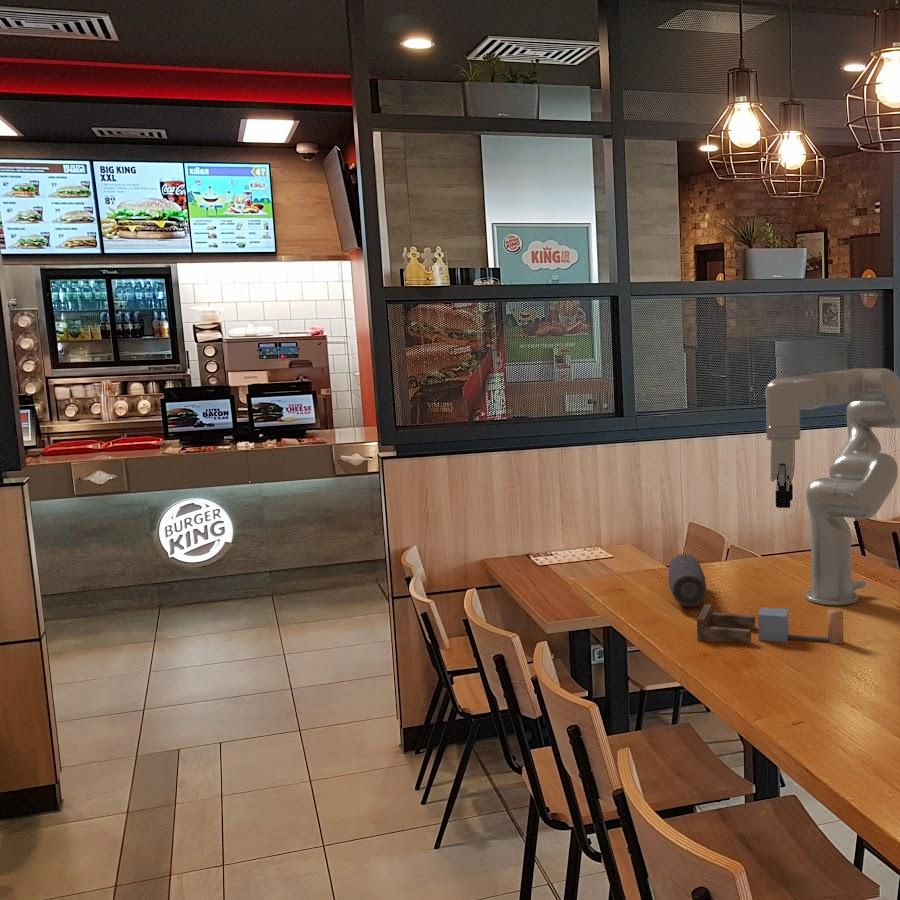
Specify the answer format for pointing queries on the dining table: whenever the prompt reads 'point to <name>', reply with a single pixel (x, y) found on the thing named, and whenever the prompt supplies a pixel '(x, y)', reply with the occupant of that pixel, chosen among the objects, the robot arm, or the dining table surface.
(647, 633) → the dining table surface
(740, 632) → the dark u-shaped frame
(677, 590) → the bluetooth speaker
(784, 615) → the block
